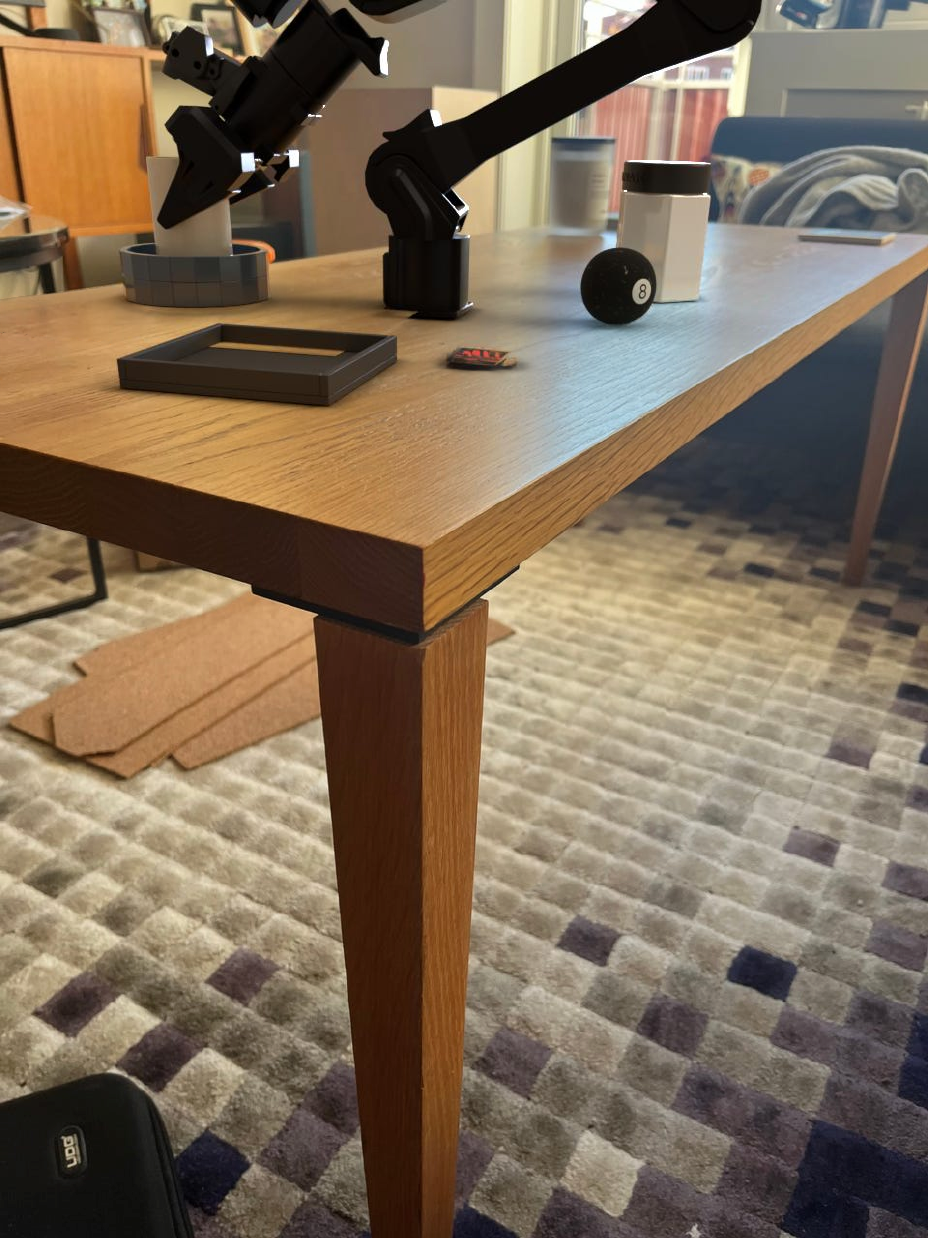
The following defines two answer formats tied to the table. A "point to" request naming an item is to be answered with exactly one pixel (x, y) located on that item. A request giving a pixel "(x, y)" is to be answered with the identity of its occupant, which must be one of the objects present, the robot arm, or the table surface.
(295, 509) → the table surface
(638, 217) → the jar
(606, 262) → the billiard ball
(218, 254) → the cup
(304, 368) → the tray
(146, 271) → the bowl
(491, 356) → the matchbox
